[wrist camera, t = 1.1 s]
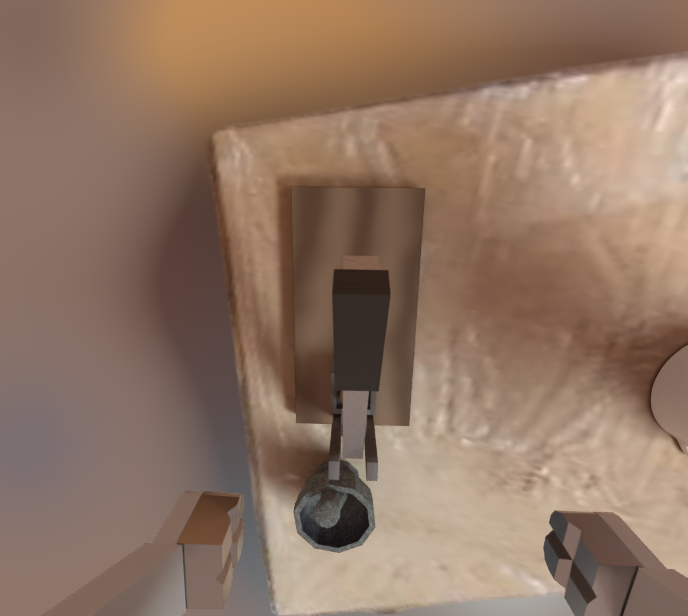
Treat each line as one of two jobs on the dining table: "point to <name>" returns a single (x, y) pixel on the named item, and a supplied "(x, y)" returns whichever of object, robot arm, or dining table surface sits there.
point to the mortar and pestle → (335, 510)
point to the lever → (358, 342)
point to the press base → (317, 311)
